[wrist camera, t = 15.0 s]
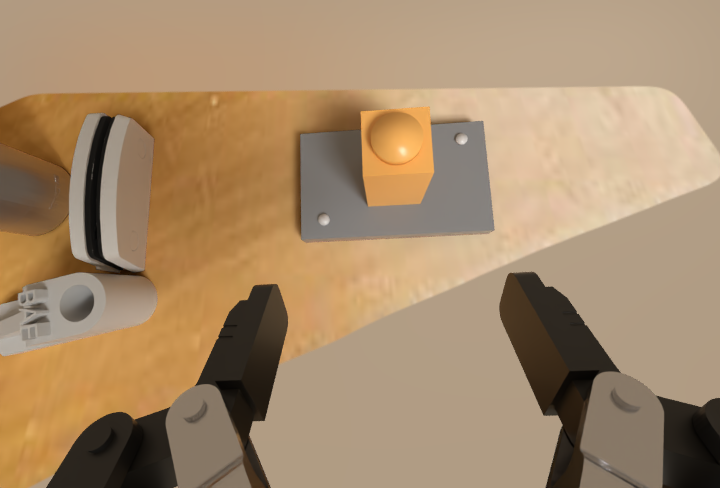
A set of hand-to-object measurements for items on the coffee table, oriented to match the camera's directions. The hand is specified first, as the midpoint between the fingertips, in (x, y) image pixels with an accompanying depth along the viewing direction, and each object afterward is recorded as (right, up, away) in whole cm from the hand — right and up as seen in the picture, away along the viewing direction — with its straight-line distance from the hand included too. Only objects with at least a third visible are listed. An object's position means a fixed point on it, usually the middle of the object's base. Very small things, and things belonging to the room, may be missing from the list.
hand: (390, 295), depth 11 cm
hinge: (-27, +7, +26) cm, 39 cm away
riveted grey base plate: (+3, +8, +24) cm, 26 cm away
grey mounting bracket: (-33, -6, +25) cm, 42 cm away
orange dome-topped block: (+2, +9, +22) cm, 24 cm away
